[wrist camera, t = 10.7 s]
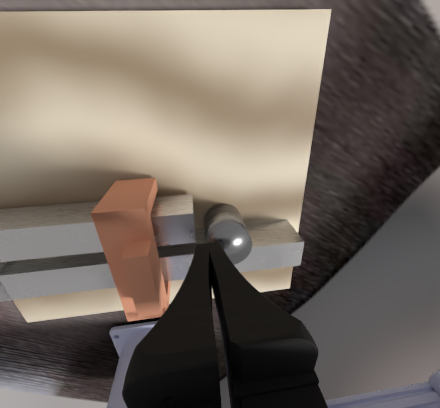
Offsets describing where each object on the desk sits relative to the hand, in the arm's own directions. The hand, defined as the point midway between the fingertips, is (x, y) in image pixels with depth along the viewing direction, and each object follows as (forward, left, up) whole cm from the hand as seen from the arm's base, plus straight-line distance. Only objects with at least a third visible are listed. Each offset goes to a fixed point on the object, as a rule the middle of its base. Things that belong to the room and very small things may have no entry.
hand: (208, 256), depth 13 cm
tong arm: (+1, +8, -3) cm, 9 cm away
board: (+2, +4, -5) cm, 7 cm away
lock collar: (0, +4, -4) cm, 5 cm away
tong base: (-1, +4, -4) cm, 6 cm away
